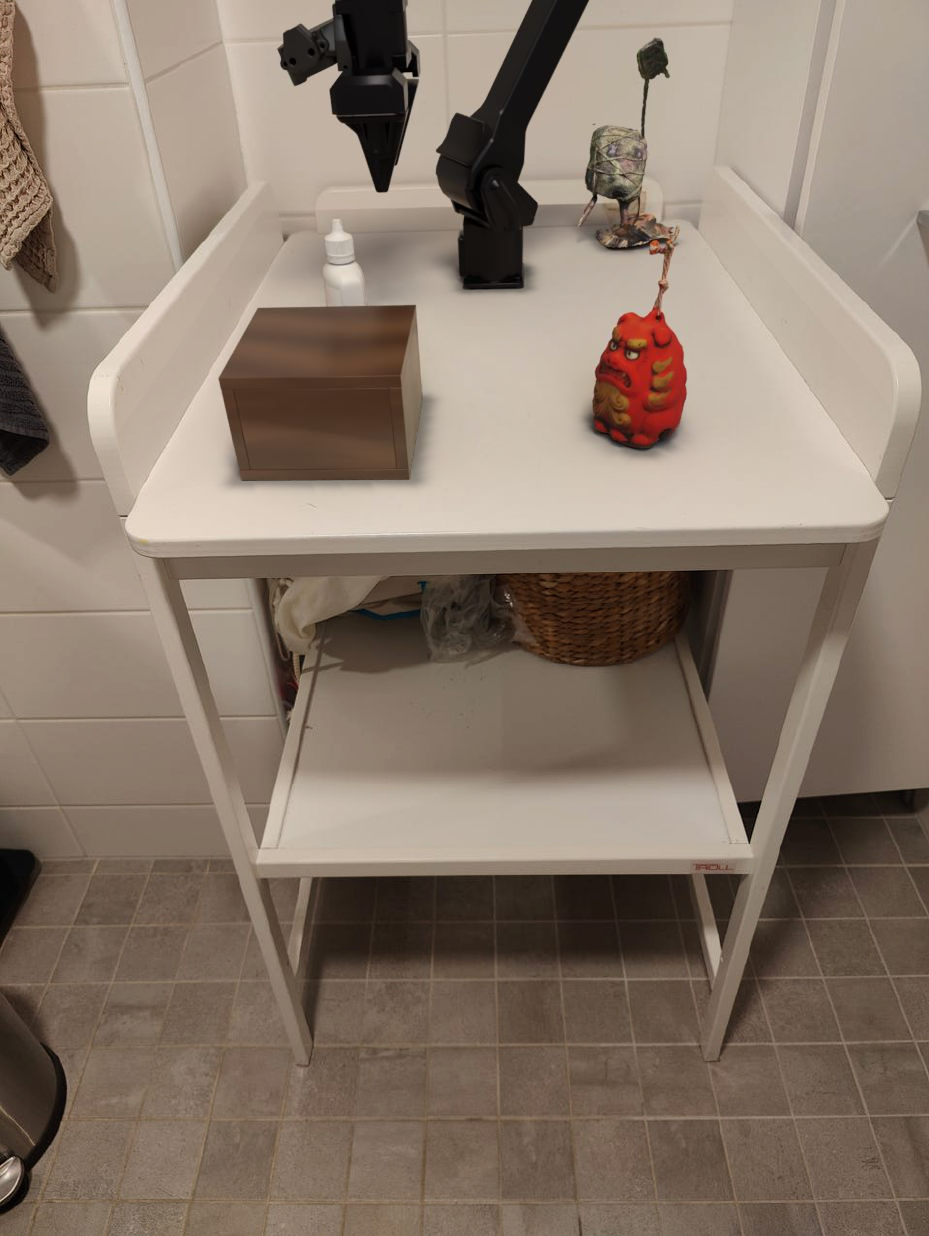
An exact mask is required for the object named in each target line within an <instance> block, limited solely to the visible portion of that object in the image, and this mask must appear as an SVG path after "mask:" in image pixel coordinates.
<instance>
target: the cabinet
mask: <svg viewBox="0 0 929 1236" xmlns="http://www.w3.org/2000/svg"><path fill="white" fill-rule="evenodd" d="M419 343H420V342H419V327H418V313H417V305H416V304H390V305H389V304H388V305H367V306H328V307H327V306H284V307H283V306H282V307H280V306H279V307H277V306H276V307H275V306H274V307H257V308H256V310H255V312H254V313H253V316H252V317H251V319H250V321H249V323H248V325H247V326H246V328H245V330H244V332H243V333H242V335H241V337H240V339H239V341H238V342H237V344H236V346H235V348H234V349H233V352H232V353H231V354H230V356H229V359H228V360H227V361H226V364H225V366H224V367H223V369H222V371H221V373H220V374H219V376H218V378H217V379H218V383H219V387H220V391H221V397H222V400H223V404H224V405H223V406H224V409H225V414H226V417H227V418H226V419H227V423H228V427H229V431H230V436H231V440H232V444H233V449H234V453H235V458H236V463H237V467H238V470H239V471H238V472H239V476H240V480H241V481H308V480H309V481H313V480H314V481H316V480H317V481H319V480H320V481H321V480H327V481H328V480H331V481H333V480H409V479H410V477H411V472H412V465H413V460H414V459H413V458H414V455H415V448H416V443H417V435H418V429H419V423H420V419H421V418H420V417H421V411H422V407H423V406H422V404H423V385H422V373H421V356H420V345H419Z"/></svg>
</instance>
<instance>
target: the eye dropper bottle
mask: <svg viewBox="0 0 929 1236" xmlns="http://www.w3.org/2000/svg"><path fill="white" fill-rule="evenodd" d="M324 245H325V253H326V260H327V262H326V263H325V264H324V266H323V268H322V281H323V290H324V297H325V306H326V307H328V306H368V301H367V300H368V299H367V291H366V282H365V281H366V280H365V277H364V272H363V269H362V268H361V266H360V265H359V264H358V262H357V261H356V256H355V247H354V246H355V245H354V237H353V235H352V233H350V232H347V231H345V230H344V226H343V223H342V220H341V218H333V219H332V221H331V231H330V233H328V234H326V235H325V237H324Z"/></svg>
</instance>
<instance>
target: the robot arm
mask: <svg viewBox="0 0 929 1236" xmlns="http://www.w3.org/2000/svg"><path fill="white" fill-rule="evenodd" d="M589 2H590V0H531V2H530V4H529V6H528V8H527V10H526V13H525V15H524V16H523V18H522V20H521V23H520V25H519V27H518V29H517V32H516V33H515V35H514V37H513V39H512V42H511V43H510V46H509V49H508V51H507V52H506V55H505V57H504V60H503V61H502V63H501V65H500V68H499V70H498V71H497V73H496V76H495V78H494V80H493V82H492V85H491V87H490V89H489V91H488V93H487V95H486V97H485V99H484V101H483V102H482V103H481V105H480V106H479V108H477V110H475V111H474V112H473V113H472V114H471V115H470V116H468V115H466V114H463V113H460V112H455V113H454V115H453V117H452V118H451V120H450V123H449V125H448V129H447V132H446V136H445V137H444V138H443V140H442V143H441V144H440V145H439V146H438V147H437V148H436V149H435V153H436V154H438V155H439V157H438V158H437V159H438V160H437V163H436V166H435V176H436V179H437V184H438V187H439V188H440V190H441V192H442V194H443V195H444V196H445V197H447V198H448V199H449V200H450V203H451V206H452V208H453V210H454V212H455V213H456V214H458V215H459V214H460V215H462V216H463V218H462V219H463V221H462V229H459V231H458V236H457V253H458V254H457V257H458V276H459V277H460V278H463V279H462V287H463V288H464V289H491V288H492V289H494V288H495V289H496V288H522V287H524V286H525V267H524V266H525V263H524V228H525V227H529V226H532V225H533V224H534V221H535V218H536V215H537V211H538V208H539V203H538V201H537V200H536V199H535V198H534V197H532V195H531V194H530V193H529V192H528V191H527V190H526V189H525V188H524V187H523V186H522V185H521V183H520V182H519V181H520V177H521V174H522V171H523V168H524V165H525V156H526V140H527V139H526V137H527V131H528V127H529V124H530V122H531V121H532V119H533V116H534V114H535V113H536V111H537V108H538V106H539V104H540V102H541V100H542V98H543V96H544V94H545V92H546V90H547V88H548V86H549V84H550V82H551V80H552V78H553V76H554V74H555V71H556V69H557V68H558V65H559V64H560V61H561V59H562V58H563V55H564V53H565V51H566V49H567V47H568V45H569V43H570V40H571V38H572V37H573V35H574V33H575V31H576V29H577V27H578V25H579V22H580V21H581V18H582V17H583V14H584V12H585V10H586V8H587V7H588V4H589ZM408 5H409V0H334V2H333V3H332V5H331V11H332V12H331V13H332V18H330V19H328V20H325V21H323V22H321V23H319V24H317V25H315V26H313V27H311V28H310V29H308V28H307V27H306V26H305V25H304V24H302V23H301V22H300V23H298V24H297V25H296V26H294V27H291V28H290V29H286V30H285V31H283V33H282V44H280V46H278V47H277V48H276V50H277V52H278V54H279V56H280V57H279V58H280V61H279V65H280V67H281V69H282V70H283V71H286V72H287V74H288V76H289V78H290V80H291V81H290V82H291V83H292V85H293V87H297V86H300V85H302V84H304V83H306V82H307V81H308V79H309V78H310V77H313V76H315V75H316V74H318V73H320V72H323V71H325V70H327V69H330V68H331V67H334V65H337V72H340V74H339V76H338V77H337V78H336V80H335V81H334V82H333V84H332V85H331V86H330V88H328V89H329V99H330V108H331V115H334V116H335V117H336V119H337V120H338V122H339V123H340V124H344V125H345V126H346V127H347V128H349V129H351V130H350V131H352V132H354V133H355V134H356V136H357V139H358V141H359V144H360V147H361V150H362V152H363V156H364V159H365V162H366V165H367V169H368V172H369V175H370V177H371V180H372V183H373V187H374V189H375V191H376V193H378V194H381V193H382V194H383V193H384V194H385V193H388V192H389V189H390V185H391V181H392V177H393V173H394V169H395V167H396V166H398V164H399V160H400V156H401V153H402V149H403V144H404V141H405V137H406V133H407V129H408V125H409V122H410V117H411V114H412V110H413V106H414V104H415V103H414V102H415V100H416V99H415V98H416V96H417V91H418V88H419V84H420V79H419V78H420V75H421V71H422V70H421V55H420V50H419V48H418V47H417V46H416V45H415V44H414V43H413V42H412V41H411V40H410V39H409V35H408V19H407V7H408ZM408 73H409V74H411V76H412V78H407V77H406V76H405V74H408Z"/></svg>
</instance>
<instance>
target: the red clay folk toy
mask: <svg viewBox="0 0 929 1236" xmlns="http://www.w3.org/2000/svg"><path fill="white" fill-rule="evenodd" d="M680 230H681V229H680V226H679V225H678V224H677V225H676V227H675V230H674V231H675V232H674V233H673V237H672V238H671V239H669V238H668V239H667V240H666V242H665V246H664V247H662V246H661V245H660V242H659V241H658V239H655V240H652V241H650V243H649V246H650V247H649V253H648V254H649V256H654V255H657V254H660V255H663V263H662V273H661V279H659V280H658V282H657V285H658V287H659V290H658V293H657V297H656V299H655V301H654V304H653V306H652V309H651V311H649V312H648V313H647V314H646V315H645V316H644V317H643V316H640V315H639V314H637V313H636V312H633V311H630V312H629V311H628V312H626V313H624V314H622V315H621V316H620V317H618V321H617V322H616V326H615V327H613V329H612V332H611V338H610V340H608V343H607V345H606V347H605V349H604V350H603V352H602V353H601V355H600V358H599V362H598V364H597V365H596V366H595V370H594V376H595V384H594V386H593V387H594V388H593V398H592V401H591V403H592V405H591V406H592V411H593V420H594V429H595V430H596V431H598V432H601V433H603V434H609V436H610V438H611V439H612V440H613V441H615V442H617V443H619V444H621V445H624V446H628V447H632V448H637V449H649V448H652V446H653V445H654V444H655V443H657V442H658V441H664V440H665V439H667V438H669V437H670V436H671V435H672V434H673V433H674V432H675V430H676V429H677V428H678V427H679V425H680V423H681V419H682V416H683V412H684V407H685V402H686V400H687V395H688V392H687V391H688V390H687V386H686V384H687V381H688V371H687V367H686V366H685V363H684V360H685V353H684V347H683V345H682V343H681V342H680V341H679V339H678V337H677V334H676V333H675V331H673V330H672V329H671V328H670V326H669V325H668V323H667V322H666V316H665V313H664V312H663V311H662V304H663V295H664V293H666V291H667V290H668V289H669V281H668V279H667V276H668V272H669V269H670V264H671V260H672V257H673V254H674V250H675V247H677V246H678V245H679V242H678V241H676V240H677V238H678V236H679V233H680ZM675 241H676V242H675Z"/></svg>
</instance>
